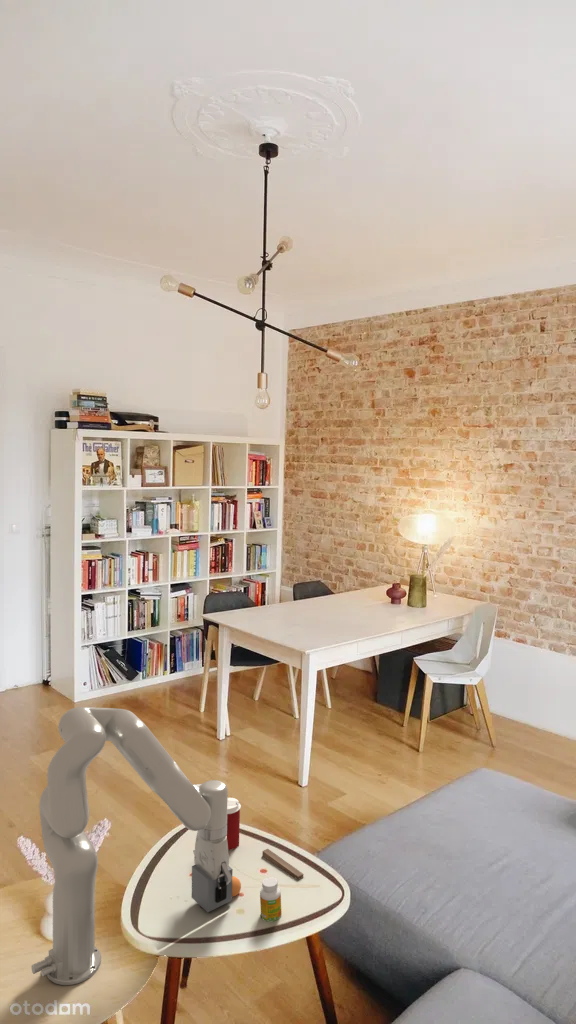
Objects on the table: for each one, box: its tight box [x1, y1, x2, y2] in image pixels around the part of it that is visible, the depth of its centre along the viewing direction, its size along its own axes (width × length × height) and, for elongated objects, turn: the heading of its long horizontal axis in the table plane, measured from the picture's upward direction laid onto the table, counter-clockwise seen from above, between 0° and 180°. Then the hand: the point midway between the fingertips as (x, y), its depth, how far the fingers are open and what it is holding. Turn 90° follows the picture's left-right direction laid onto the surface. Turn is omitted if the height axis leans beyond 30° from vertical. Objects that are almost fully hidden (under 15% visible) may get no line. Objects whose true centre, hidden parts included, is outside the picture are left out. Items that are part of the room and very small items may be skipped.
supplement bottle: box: [259, 876, 282, 922], centre depth 177 cm, size 5×5×10 cm
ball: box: [232, 875, 242, 898], centre depth 186 cm, size 5×5×5 cm
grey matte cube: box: [191, 864, 234, 913], centre depth 181 cm, size 8×8×9 cm
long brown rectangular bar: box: [261, 848, 304, 881], centre depth 198 cm, size 2×16×2 cm, turn 41°
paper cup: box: [226, 797, 242, 851], centre depth 208 cm, size 8×8×14 cm
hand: (211, 892), depth 181 cm, fingers closed on grey matte cube, 7 cm apart
